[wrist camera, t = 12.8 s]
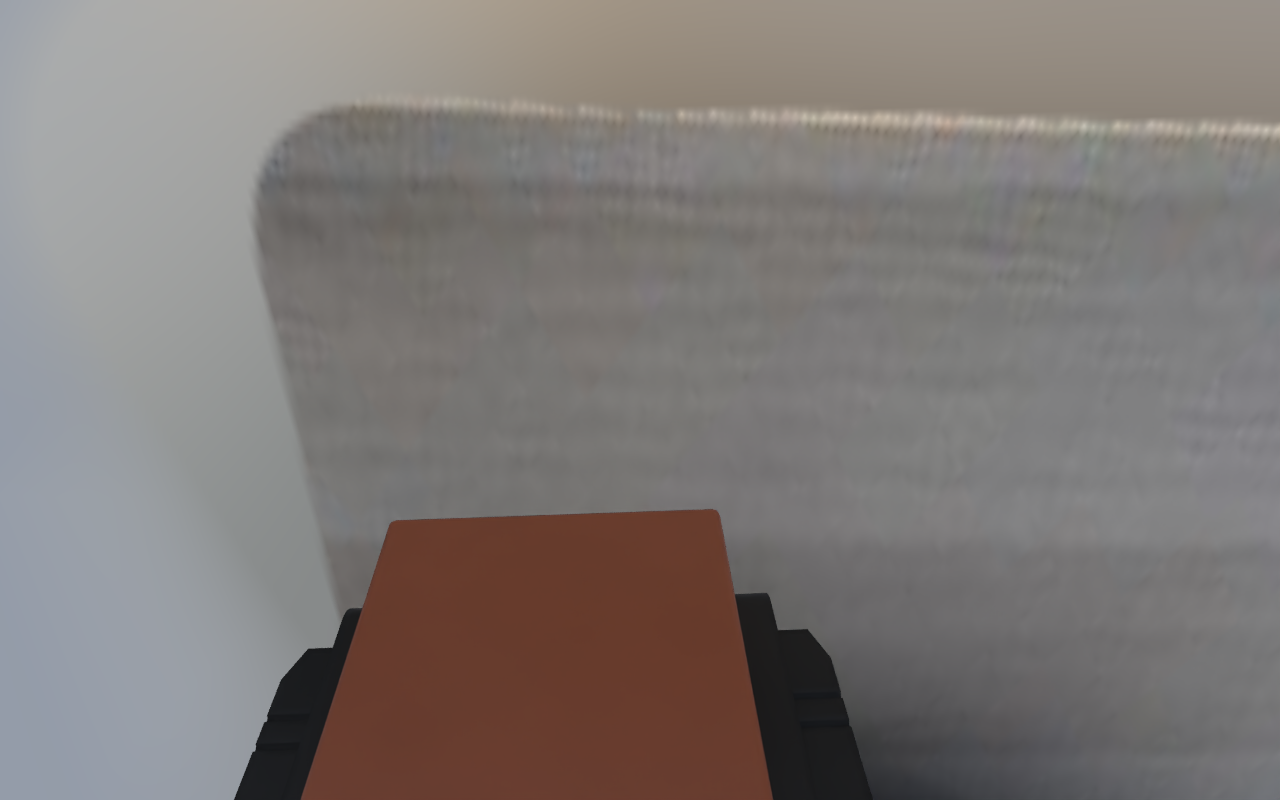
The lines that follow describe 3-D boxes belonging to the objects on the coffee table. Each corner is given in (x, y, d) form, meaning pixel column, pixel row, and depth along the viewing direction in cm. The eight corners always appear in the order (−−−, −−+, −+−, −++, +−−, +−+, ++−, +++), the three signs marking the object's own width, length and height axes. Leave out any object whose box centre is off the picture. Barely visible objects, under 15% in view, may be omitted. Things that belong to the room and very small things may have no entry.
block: (436, 729, 13) (372, 1056, 10) (388, 517, 11) (282, 841, 7) (709, 718, 14) (750, 1036, 10) (719, 505, 11) (778, 818, 8)
